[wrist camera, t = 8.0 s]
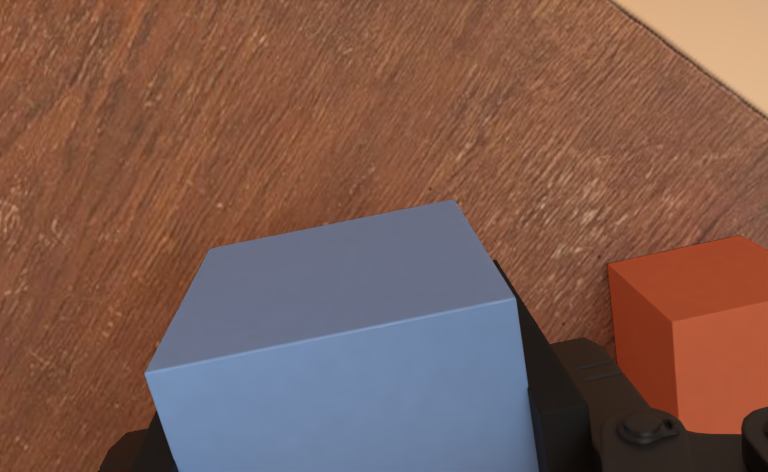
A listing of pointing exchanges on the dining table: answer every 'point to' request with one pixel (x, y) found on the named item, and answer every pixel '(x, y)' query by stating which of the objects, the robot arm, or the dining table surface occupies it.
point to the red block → (695, 331)
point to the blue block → (348, 353)
